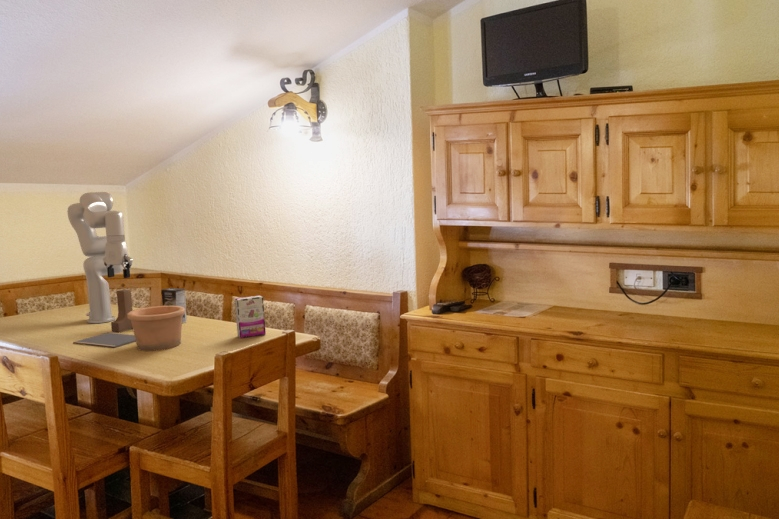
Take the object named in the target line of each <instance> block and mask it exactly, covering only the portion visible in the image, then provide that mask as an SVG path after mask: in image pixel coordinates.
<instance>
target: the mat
mask: <svg viewBox="0 0 779 519" xmlns="http://www.w3.org/2000/svg"><path fill="white" fill-rule="evenodd" d="M72 343H73V344H74V343H78V344H77V345H83V344H85V345H86V346H91V347H92V346H94V347H100V348H101V347H102V348H111V349H115V348H116V349H117V348H119V347H122V346H125V345H129V344H133V343H136V339H135V335H134V334H129V333H122V332H120V333H117V332H112V331H109V332H105V333H101V334H97V335H93V336H90V337H86V338H83V339H80V340H75V341H73V342H72Z"/></svg>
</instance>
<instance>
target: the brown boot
mask: <svg viewBox="0 0 779 519" xmlns="http://www.w3.org/2000/svg"><path fill="white" fill-rule="evenodd" d="M116 300H117V312H118V313H117V317H116V318H115V320H113V321H110V326H111V333H119V332H120V333H122V332H126V331H130V330H133V327H132V322H131V320H130V319H128V317H127V313H129V312H130V311H133V298H132V290H131V289H124V288H123V289H120V290H117V291H116Z"/></svg>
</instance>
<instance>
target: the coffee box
mask: <svg viewBox="0 0 779 519" xmlns="http://www.w3.org/2000/svg"><path fill="white" fill-rule="evenodd" d="M161 301H162V303H161V304H162V306H181V307H184V308H185V313H184V314H183V315H182V324H184V323H183V322H185V323H187V322H188V320H187V318H188V317H187V302H186V301H187V300H186V288H178V287H176V288H175V287H169V288H164V289H161ZM186 321H187V322H186Z"/></svg>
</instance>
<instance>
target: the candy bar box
mask: <svg viewBox="0 0 779 519" xmlns="http://www.w3.org/2000/svg"><path fill="white" fill-rule="evenodd" d="M264 306H265V305H264V296H263V295H254V296H253V295H252V296H245V297H237V298H234V307H235V309H234V310H235V318H236V319H235V320H236V321H235V323H236V332H237V333H236V334H237V337H238V338H239V339H244V338H250V337H251V338H252V337H258V336H259V337H260V336H264V335H266V320H265V307H264Z"/></svg>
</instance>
